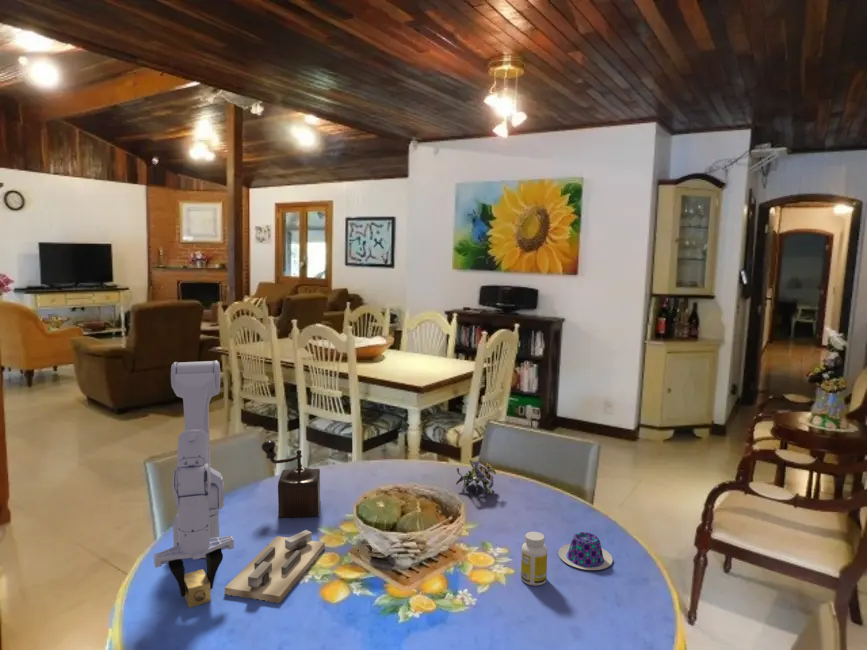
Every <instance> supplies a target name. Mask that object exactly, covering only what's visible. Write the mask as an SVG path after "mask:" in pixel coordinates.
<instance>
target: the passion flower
mask: <svg viewBox="0 0 867 650" xmlns="http://www.w3.org/2000/svg"><path fill="white" fill-rule="evenodd" d="M469 464H470V466H471V467H472V469H469V470H467V471H468V472H466V473H465V475H462V474H461V472H460V468H459V467H456V472H457V474H458V475H459V476H460V478H459V479H458V480H457V481H456V483H455V485H459V483H461V482H463V487H462V490H461V492H464V491H465V488H467V487H469V486H470V484H471V483H472V482H473V481H474V482H475V485H477V484H479V483H480V481H481V482H482V486H483V490H484V493H486V495H488V496H489V495H492V494H493V490H492V488H493V487H494V476H493V475H492V474H494V475H496V473H497V472H496V470H495V469H494V468H493V466H492V464H491V462H487V463H486V465H484V464H483V463H481V462H480V461H478V460H476V461H475V462H474V458H473V459H469ZM491 473H492V474H491Z"/></svg>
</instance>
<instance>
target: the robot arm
mask: <svg viewBox="0 0 867 650" xmlns="http://www.w3.org/2000/svg"><path fill="white" fill-rule="evenodd" d="M170 384H171V385H170V386H171V389H172V390H173V392H174V394H175V396H176V397H178V398H181V399H182V401H183V418H184V420H183V421H184V430H183V431H182V432H181V433H180V434H179V435H178V437H177V454H176V455H177V457H176V469H175V470H174V471H173V475H172V491H173V496H174V501H175V508H177V513H176V514H175V516H174V519H173V524H172V528H173V529H172V531H173V532H172V534H173V535H172V536H173V547H170V548H168V549H165V550H162V551H159V552H156V553H153V564H154V567H155V569H157V568H160V567H162V566H163V565H165V564H168V567H169V570H170V572H171V574H172V575H173V577H174V578H175V580H176V582H177V583H178V588H179V593H180V596H181V597H182V598H183V597H185V596H186V591H185V583H184V574H185V569H186V568H185V566H184V561H183V560H186V559H192V560H194V561H195V560H199V559H205V561H206V576H207V578H208V580H209V582H210V590H212V589H213V588H214V587H213V586H214V582H215V577H216V574H217V573H218V572H217V571H218V569H219V567H220V565H221V563H222V562H223V559H224V554H223V552H222V551H223V550H227V549H228V550H232V549H233V550H234V547H235V541H234V537H233V536H232V535H227V536H220V517H219V516H220V515H219V513H220V511H219V510H222V509H223V507H225V484H224V476H223V474H222V473H221V472H220V471H218V470H216V469H214V468H213V467H211V449H210V448H211V444H210V443H211V441H210V438H211V437H210V436H211V435H210V407H209V406H210V404H211V403H210V402H211V399H212V398H213V397H214V396H218V395H219V394H220V391H221V365H220V361H218V360H217V359H216V360H211V361H210V360H207V361H206V360H205V361H187V362H186V361H185V362H184V361H183V362H180V361H179V362H178V361H174V362H173V363H172V364H171V368H170Z"/></svg>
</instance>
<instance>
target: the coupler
mask: <svg viewBox="0 0 867 650" xmlns="http://www.w3.org/2000/svg"><path fill="white" fill-rule="evenodd" d="M184 583H185V591H186V596H184V599H185V601H186V604H187V607H188V608H189V609H190V608H193V607H196V606H199V605H203V604H207V603H209V601H210V602H211V601H212V600H211V599H212V598H211V595H212V594H211V589H210V582H209V580H208V578H207V573H206V572H205V570H204V568H203V569H202V568H201V569H198V570H193V571H190V572H187V573H184ZM206 602H207V603H206Z"/></svg>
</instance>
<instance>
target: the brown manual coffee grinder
mask: <svg viewBox="0 0 867 650" xmlns="http://www.w3.org/2000/svg"><path fill="white" fill-rule="evenodd" d="M276 446H277V444H276V442H275V441H274V440H271V439H268V440H265V441H264V442H263V443H262V444H261V449H262V451H263V452H264V453H265V454H266V456H265V458H266V459H269V461H270V462H271V463H272V464H284V463H289V462H293V461H295V460H297V466H296V467H294V468H292V469H291V468H290V469H282V471H281V473H280V475H279V478H278V481H277V482H278V484H277V501H278V506H277V507H278V511H277V513H278V519H281V518H290V519H307V518H318V517H319V515H320V508H321V503H322V502H321V469H320V468H309V467H304V466H303V465H302V460H301V459H302V458H303V456H302V450H301V449H297V450H296V456H293V457H290V458H284V459H283V458H282V459H275V457H276V456H277V453H276V452H275V449H276Z"/></svg>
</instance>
